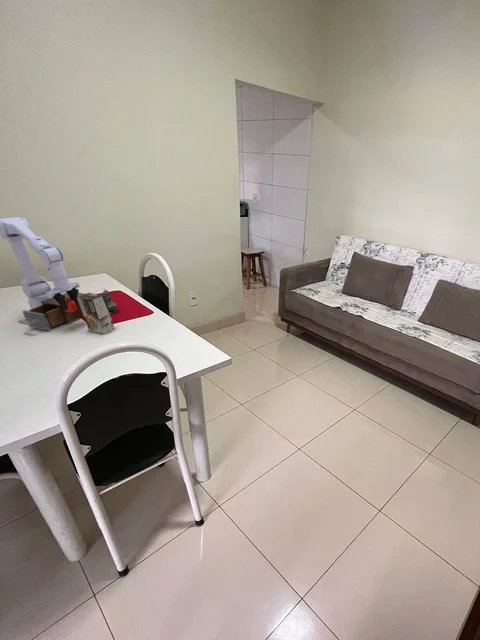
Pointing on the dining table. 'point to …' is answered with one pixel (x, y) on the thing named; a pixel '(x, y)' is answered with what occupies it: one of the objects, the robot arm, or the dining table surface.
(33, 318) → the drawer
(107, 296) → the grey statue
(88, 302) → the coffee box
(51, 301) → the cabinet
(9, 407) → the dining table surface
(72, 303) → the pepper
